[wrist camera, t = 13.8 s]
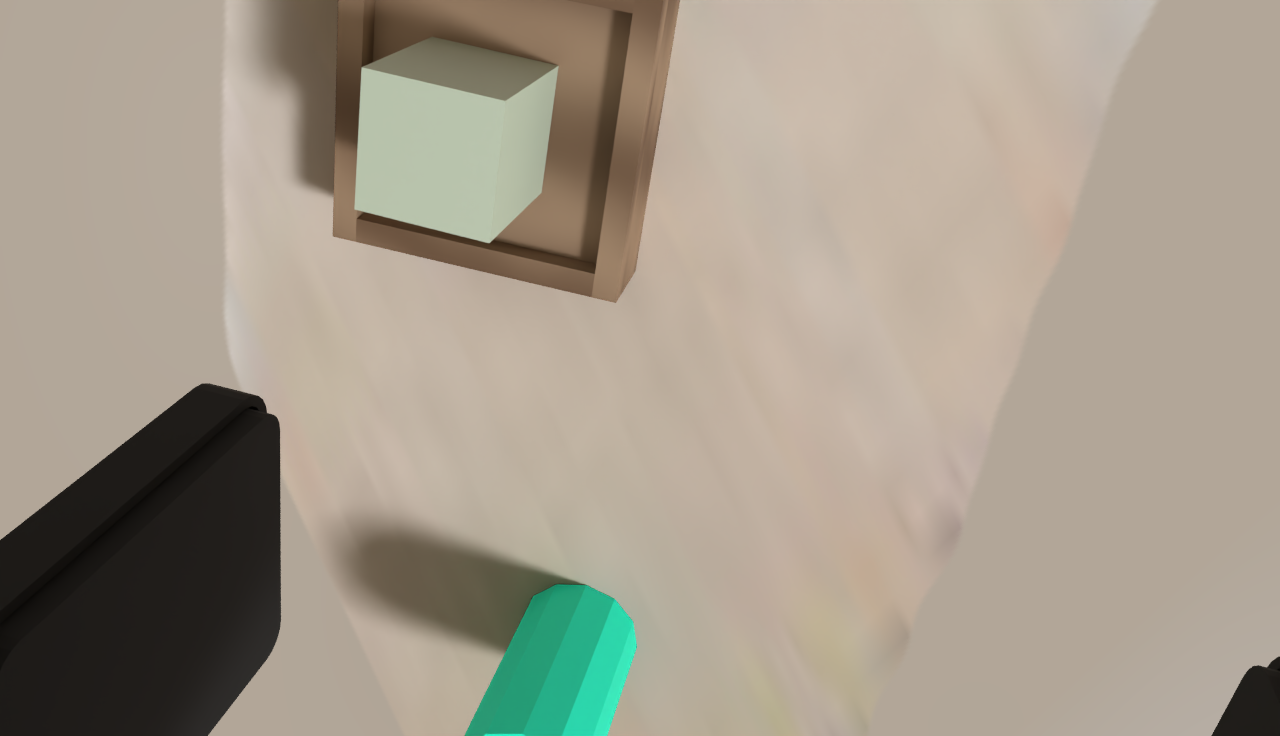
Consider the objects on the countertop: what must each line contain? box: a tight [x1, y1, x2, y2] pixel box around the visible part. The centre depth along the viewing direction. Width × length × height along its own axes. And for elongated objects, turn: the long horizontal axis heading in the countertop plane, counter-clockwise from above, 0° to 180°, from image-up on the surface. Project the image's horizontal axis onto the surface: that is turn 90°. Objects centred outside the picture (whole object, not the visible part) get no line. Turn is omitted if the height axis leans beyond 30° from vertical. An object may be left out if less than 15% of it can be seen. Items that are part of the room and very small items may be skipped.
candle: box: [465, 584, 637, 736], centre depth 51 cm, size 6×6×12 cm
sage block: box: [354, 37, 559, 243], centre depth 40 cm, size 5×5×6 cm
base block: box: [333, 0, 680, 303], centre depth 43 cm, size 12×12×4 cm
